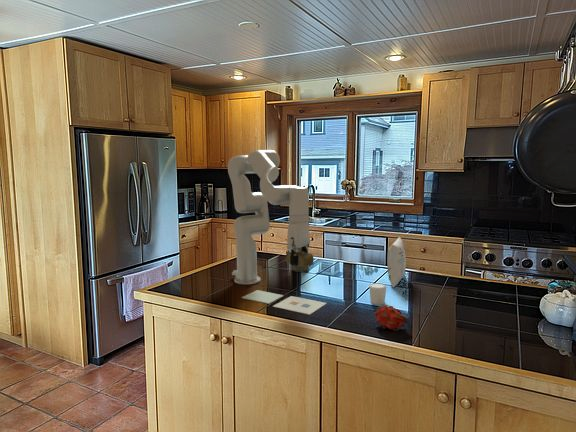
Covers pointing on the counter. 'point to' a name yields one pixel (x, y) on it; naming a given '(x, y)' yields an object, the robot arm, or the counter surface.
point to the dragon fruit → (390, 317)
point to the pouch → (396, 262)
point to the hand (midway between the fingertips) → (299, 262)
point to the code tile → (300, 305)
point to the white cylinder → (377, 293)
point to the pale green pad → (262, 296)
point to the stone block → (302, 258)
